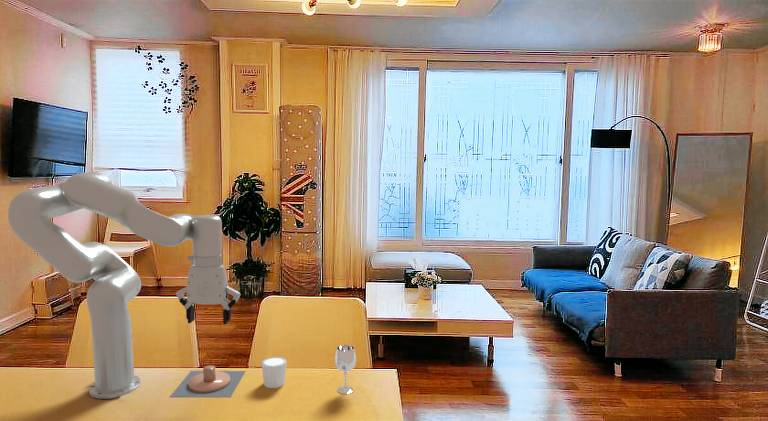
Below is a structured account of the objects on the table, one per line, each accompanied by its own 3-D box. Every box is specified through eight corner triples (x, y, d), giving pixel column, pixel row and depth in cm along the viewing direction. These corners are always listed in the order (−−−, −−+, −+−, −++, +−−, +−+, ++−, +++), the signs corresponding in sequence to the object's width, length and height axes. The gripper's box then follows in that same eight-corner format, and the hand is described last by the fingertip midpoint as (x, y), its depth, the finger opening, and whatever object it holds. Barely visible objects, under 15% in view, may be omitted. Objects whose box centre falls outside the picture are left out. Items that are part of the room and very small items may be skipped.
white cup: (257, 385, 145) (256, 361, 144) (277, 377, 150) (277, 354, 149) (271, 393, 141) (270, 368, 140) (292, 385, 146) (291, 361, 145)
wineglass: (352, 396, 140) (353, 353, 138) (332, 393, 141) (332, 351, 139) (358, 386, 145) (358, 345, 144) (338, 384, 146) (338, 343, 145)
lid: (181, 382, 145) (181, 367, 144) (218, 371, 153) (218, 356, 152) (199, 396, 137) (199, 380, 137) (237, 383, 145) (237, 368, 144)
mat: (169, 399, 137) (169, 396, 137) (191, 372, 153) (191, 370, 153) (230, 399, 137) (230, 397, 137) (245, 372, 153) (245, 371, 153)
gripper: (170, 263, 137) (171, 326, 139) (235, 265, 137) (236, 328, 139) (181, 257, 144) (182, 316, 146) (243, 259, 144) (244, 318, 146)
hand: (208, 322), depth 143 cm, fingers open, 9 cm apart
